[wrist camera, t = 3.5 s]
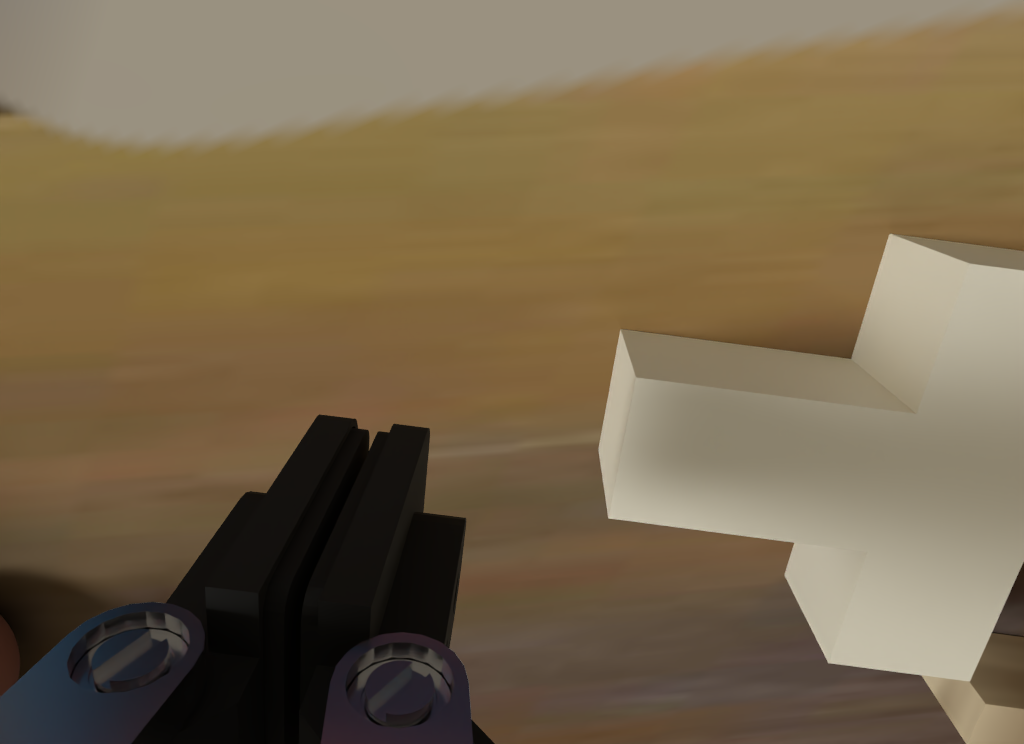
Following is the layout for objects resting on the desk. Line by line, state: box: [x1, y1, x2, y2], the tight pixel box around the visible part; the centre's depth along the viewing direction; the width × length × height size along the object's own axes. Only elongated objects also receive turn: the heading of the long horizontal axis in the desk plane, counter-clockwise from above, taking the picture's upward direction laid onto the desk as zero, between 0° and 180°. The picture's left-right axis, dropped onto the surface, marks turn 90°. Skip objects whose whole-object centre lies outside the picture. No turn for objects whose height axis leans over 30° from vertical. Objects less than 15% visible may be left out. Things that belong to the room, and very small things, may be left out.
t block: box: [598, 234, 1024, 682], centre depth 17 cm, size 10×10×4 cm
